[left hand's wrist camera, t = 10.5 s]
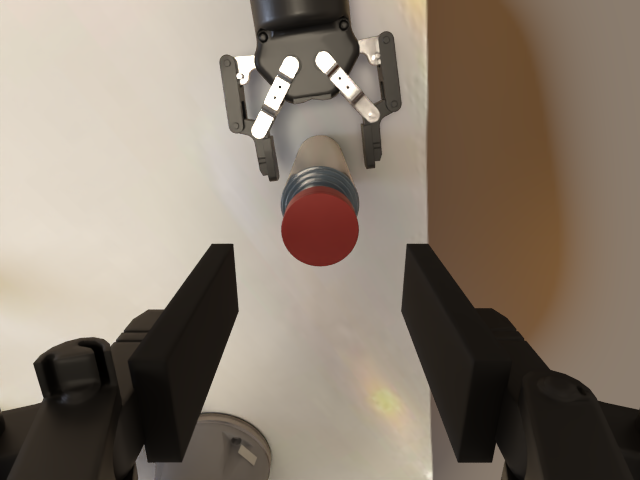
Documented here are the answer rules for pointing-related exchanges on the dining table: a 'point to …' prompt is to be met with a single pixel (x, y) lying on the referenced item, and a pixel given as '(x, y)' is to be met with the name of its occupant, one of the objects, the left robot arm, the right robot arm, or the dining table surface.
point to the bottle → (319, 171)
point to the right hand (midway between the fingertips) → (322, 173)
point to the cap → (320, 226)
